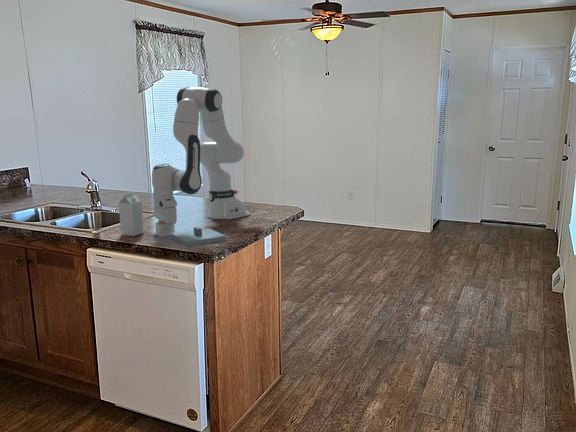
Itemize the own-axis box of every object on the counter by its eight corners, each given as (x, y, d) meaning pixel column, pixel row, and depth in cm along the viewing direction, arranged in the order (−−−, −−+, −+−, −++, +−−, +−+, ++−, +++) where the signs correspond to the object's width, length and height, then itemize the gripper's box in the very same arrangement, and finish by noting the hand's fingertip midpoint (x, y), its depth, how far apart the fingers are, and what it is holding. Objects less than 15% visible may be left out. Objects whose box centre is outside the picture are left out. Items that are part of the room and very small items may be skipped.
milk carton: (121, 235, 231) (117, 194, 227) (131, 231, 237) (128, 191, 233) (134, 236, 228) (130, 194, 224) (143, 232, 235) (140, 192, 231)
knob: (156, 234, 231) (155, 221, 230) (170, 232, 235) (170, 219, 234) (160, 236, 227) (159, 223, 226) (174, 234, 231) (174, 221, 230)
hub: (208, 232, 235) (207, 221, 234) (225, 240, 220) (225, 229, 219) (171, 237, 225) (170, 226, 224) (187, 246, 211) (186, 235, 210)
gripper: (148, 197, 234) (150, 227, 237) (164, 204, 218) (166, 235, 221) (162, 196, 238) (164, 225, 241) (178, 203, 221) (180, 233, 224)
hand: (165, 230), depth 231 cm, fingers open, 6 cm apart
